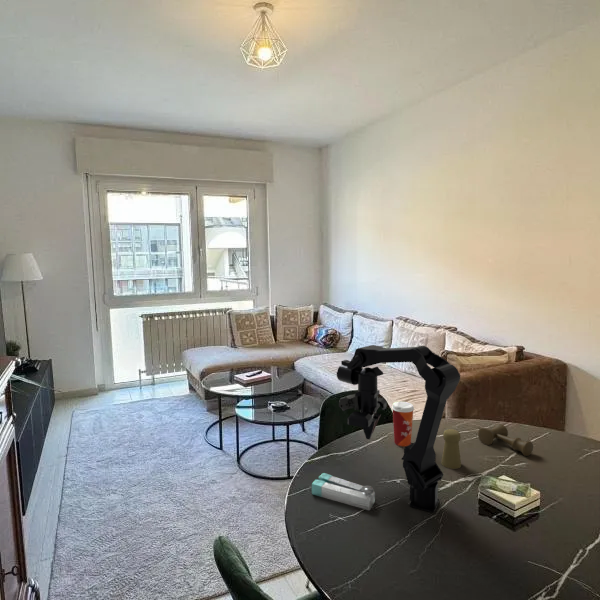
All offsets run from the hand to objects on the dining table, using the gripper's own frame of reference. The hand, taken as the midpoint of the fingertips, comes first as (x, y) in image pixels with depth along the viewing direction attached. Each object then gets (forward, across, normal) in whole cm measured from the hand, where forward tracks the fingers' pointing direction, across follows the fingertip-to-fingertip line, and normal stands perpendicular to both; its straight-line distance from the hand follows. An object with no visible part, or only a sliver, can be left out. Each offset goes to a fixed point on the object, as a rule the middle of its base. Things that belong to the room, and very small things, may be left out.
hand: (368, 438), depth 133 cm
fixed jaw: (+12, +14, -3) cm, 18 cm away
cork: (+12, -18, +21) cm, 30 cm away
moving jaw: (+12, +12, -4) cm, 17 cm away
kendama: (+12, -40, +35) cm, 54 cm away
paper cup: (+12, -27, +3) cm, 29 cm away
